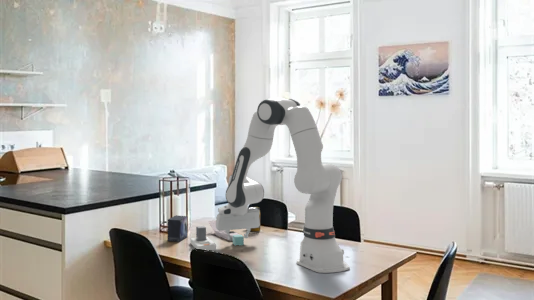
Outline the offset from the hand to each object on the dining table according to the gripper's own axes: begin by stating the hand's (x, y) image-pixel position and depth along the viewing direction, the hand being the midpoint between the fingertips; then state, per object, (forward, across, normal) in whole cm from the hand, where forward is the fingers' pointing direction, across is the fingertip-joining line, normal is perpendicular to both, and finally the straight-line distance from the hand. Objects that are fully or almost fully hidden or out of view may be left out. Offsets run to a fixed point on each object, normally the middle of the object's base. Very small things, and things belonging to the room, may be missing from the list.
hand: (238, 238), depth 239 cm
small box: (+3, +24, -20) cm, 31 cm away
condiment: (+3, -15, -24) cm, 28 cm away
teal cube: (+3, 0, 0) cm, 3 cm away
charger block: (+3, +16, -5) cm, 17 cm away
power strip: (+3, +16, -2) cm, 16 cm away
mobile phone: (+3, +2, -18) cm, 18 cm away
